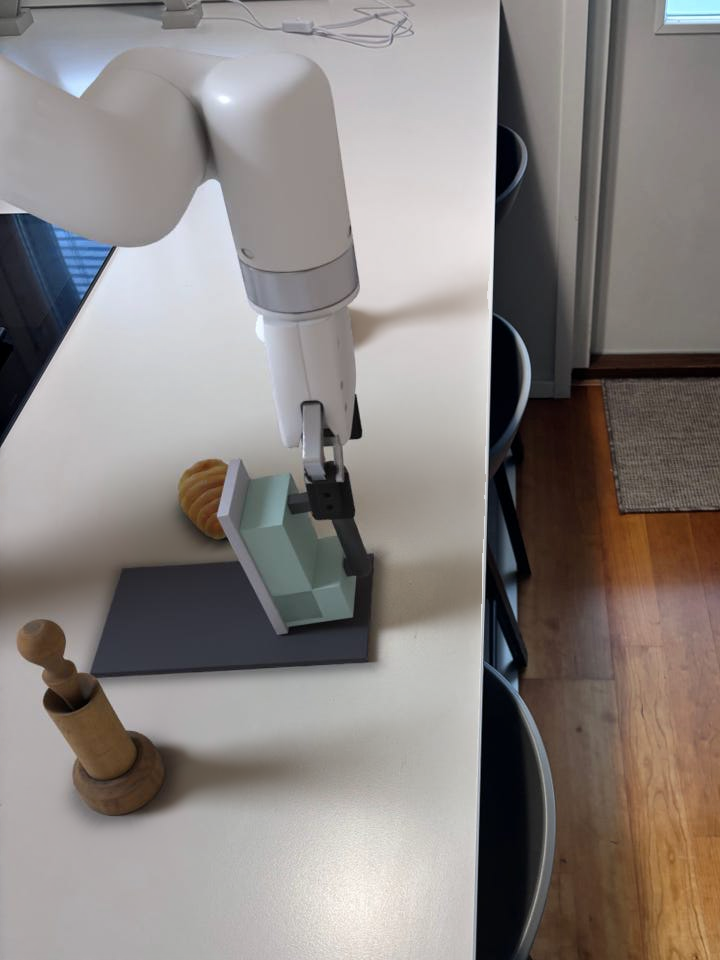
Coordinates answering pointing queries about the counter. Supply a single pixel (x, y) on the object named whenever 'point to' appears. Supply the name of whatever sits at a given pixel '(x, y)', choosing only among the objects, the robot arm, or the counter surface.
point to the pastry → (204, 495)
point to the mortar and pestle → (91, 728)
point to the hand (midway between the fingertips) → (339, 475)
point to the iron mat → (216, 625)
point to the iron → (290, 550)
